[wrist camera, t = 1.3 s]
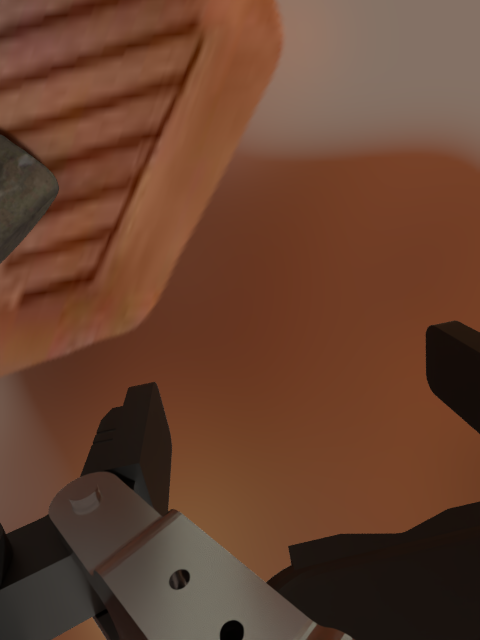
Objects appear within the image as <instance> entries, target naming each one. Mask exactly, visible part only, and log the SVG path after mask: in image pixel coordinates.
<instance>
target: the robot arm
mask: <svg viewBox="0 0 480 640" xmlns="http://www.w3.org/2000/svg"><path fill="white" fill-rule="evenodd" d="M426 376H427V381H428V384H429V386H430V389H431V390H432V392H433V393H434V394H435V395H436V396H437V397H438V398H439V399H440V400H442V401H443V402H444V403H445V404H446V405H447V406H448V407H450V408H451V409H452V410H453V411H454V412H455V413H456V414H458V415H459V416H460V417H462V419H463V420H464V421H466V422H467V423H468V424H469V425H470V426H471V427H472V428H474V429H475V430H476V431H477V432H478V433H479V434H480V332H478V331H476V330H474V329H472V328H470V327H468V326H466V325H464V324H462V323H460V322H458V321H451V322H446V323H441V324H437V325H431V326H429V327H428V329H427V331H426ZM171 455H172V443H171V435H170V431H169V426H168V423H167V419H166V415H165V411H164V408H163V404H162V400H161V397H160V393H159V389H158V386H157V384H156V383H155V382H152V383H148V384H143V385H138V386H133V387H129V388H128V391H127V394H126V398H125V401H124V405H123V406H121V407H116V408H112V409H111V410H110V411H109V412H108V413H107V415H106V416H105V417H104V418H103V419H102V420H101V422H100V425H99V428H98V430H97V435H95V438H94V441H93V445H92V446H91V449H90V452H89V454H88V457H87V460H86V462H85V465H84V468H83V471H82V473H81V476H80V478H77V479H75V480H74V481H72V482H70V483H69V484H67V485H66V486H65V487H64V488H62V489H61V490H60V491H59V492H58V493H57V494H56V496H55V497H54V498H53V500H52V502H51V504H50V506H49V514H48V515H47V516H45V517H43V518H41V519H39V520H37V521H35V522H32V523H30V524H28V525H26V526H23V527H21V528H19V529H17V530H14V531H12V532H10V533H8V534H6V533H5V531H4V529H3V527H2V525H1V523H0V640H51V639H53V638H55V637H57V636H58V635H60V634H62V633H64V632H65V631H67V630H69V629H71V628H73V627H75V626H76V625H78V624H80V623H82V622H84V621H85V620H87V619H89V618H91V617H93V619H94V620H95V622H96V624H97V625H98V627H99V628H100V630H101V631H102V633H103V635H104V636H105V638H106V639H107V640H480V502H476V503H472V504H467V505H464V506H459V507H454V508H450V509H447V510H445V511H443V512H441V513H440V514H438V515H436V516H434V517H432V518H430V519H428V520H427V521H425V522H423V523H421V524H419V525H417V526H415V527H414V528H412V529H410V530H408V531H406V532H403V533H397V534H338V535H334V536H330V537H325V538H321V539H317V540H313V541H308V542H304V543H300V544H295V545H291V546H288V548H289V553H290V559H291V566H289V567H287V568H285V569H283V570H282V571H280V572H279V573H278V574H276V575H275V576H274V577H272V578H271V579H270V580H268V581H267V582H264V581H263V580H262V579H261V578H260V577H258V576H257V575H256V574H255V573H253V572H252V571H251V570H250V569H249V568H247V567H246V566H245V565H244V564H242V563H241V562H240V561H239V560H238V559H236V558H235V557H234V556H233V555H231V554H230V553H229V552H228V551H227V550H225V549H224V548H223V547H222V546H221V545H219V544H218V543H217V542H216V541H215V540H213V539H212V538H211V537H210V536H208V535H207V534H206V533H205V532H204V531H202V530H201V529H200V528H199V527H198V526H196V525H195V524H194V523H193V522H191V521H190V520H189V519H188V518H187V517H185V516H184V515H183V514H182V513H180V512H179V511H177V510H174V509H171V510H170V511H168V502H169V486H170V471H171Z"/></svg>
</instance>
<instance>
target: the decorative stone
mask: <svg viewBox="0 0 480 640" xmlns="http://www.w3.org/2000/svg"><path fill="white" fill-rule="evenodd" d="M58 190H59V186H58V183H57V180H56V178H55V176H54V175H53V173H52V172H51V171H50V170H49V169H47V168H46V167H45V166H44V165H43V164H42V163H40V162H39V161H37V160H36V159H35V158H34V157H33V156H31V155H30V154H28V153H27V152H26V151H24V150H23V149H21V148H20V147H18V146H17V145H15V144H14V143H12V142H11V141H10V140H8V139H7V138H6V137H5V136H3V135H0V263H1V262H2V261H3V260H4V259H5V258H6V257H7V256H8V255H9V254H10V253H11V252H12V251H13V250H14V249H15V248H16V247H17V246H18V245H19V243H20V242H21V241H22V240H23V239H24V238H25V237H26V236H27V234H28V233H29V232H30V231H31V230H32V229H33V228H34V226H35V225H36V224H37V222H38V221H39V220H40V219H41V218H42V216H43V215H44V214H45V212H46V211H47V209H48V208H49V206H50V205H51V203H52V202H53V201H54V199H55V197H56V196H57V194H58Z"/></svg>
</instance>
